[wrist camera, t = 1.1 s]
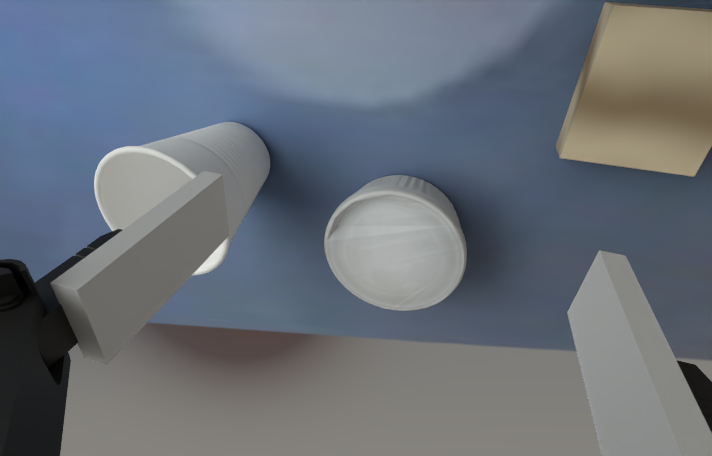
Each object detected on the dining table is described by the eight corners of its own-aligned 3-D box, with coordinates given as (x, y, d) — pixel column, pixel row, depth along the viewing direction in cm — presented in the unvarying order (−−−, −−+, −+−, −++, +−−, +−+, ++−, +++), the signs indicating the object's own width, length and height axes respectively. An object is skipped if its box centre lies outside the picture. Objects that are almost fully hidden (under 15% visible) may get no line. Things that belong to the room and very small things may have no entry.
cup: (312, 147, 34) (251, 214, 25) (263, 222, 39) (199, 298, 31) (211, 72, 32) (108, 113, 24) (175, 160, 38) (82, 220, 29)
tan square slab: (602, 1, 24) (613, 5, 22) (758, 12, 23) (784, 17, 21) (554, 144, 29) (559, 158, 27) (678, 160, 28) (694, 176, 26)
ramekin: (403, 133, 31) (390, 161, 27) (498, 229, 34) (500, 268, 29) (317, 214, 37) (296, 246, 33) (402, 290, 40) (392, 330, 35)
